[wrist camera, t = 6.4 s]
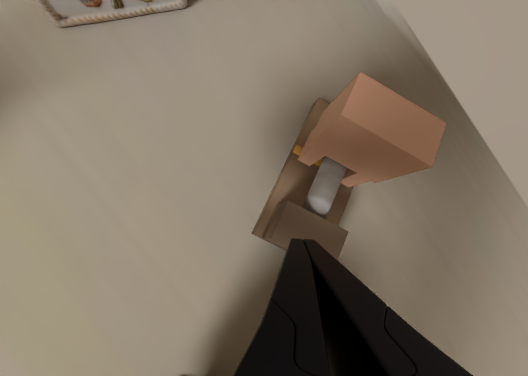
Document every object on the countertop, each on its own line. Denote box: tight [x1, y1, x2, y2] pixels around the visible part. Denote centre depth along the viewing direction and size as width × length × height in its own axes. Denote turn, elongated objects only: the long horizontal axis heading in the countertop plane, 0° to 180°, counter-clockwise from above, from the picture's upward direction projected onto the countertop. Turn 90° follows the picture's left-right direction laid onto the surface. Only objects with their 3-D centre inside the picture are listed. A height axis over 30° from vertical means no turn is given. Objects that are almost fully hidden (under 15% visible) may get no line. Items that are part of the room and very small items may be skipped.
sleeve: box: [298, 72, 447, 187], centre depth 18 cm, size 3×6×8 cm, turn 64°
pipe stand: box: [252, 98, 353, 260], centre depth 21 cm, size 14×6×5 cm, turn 154°
